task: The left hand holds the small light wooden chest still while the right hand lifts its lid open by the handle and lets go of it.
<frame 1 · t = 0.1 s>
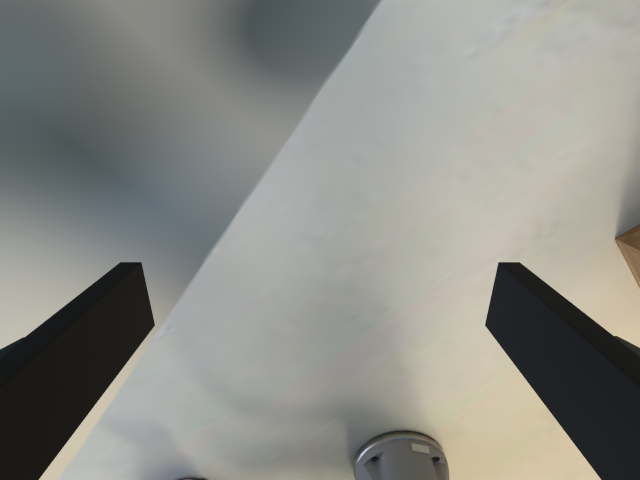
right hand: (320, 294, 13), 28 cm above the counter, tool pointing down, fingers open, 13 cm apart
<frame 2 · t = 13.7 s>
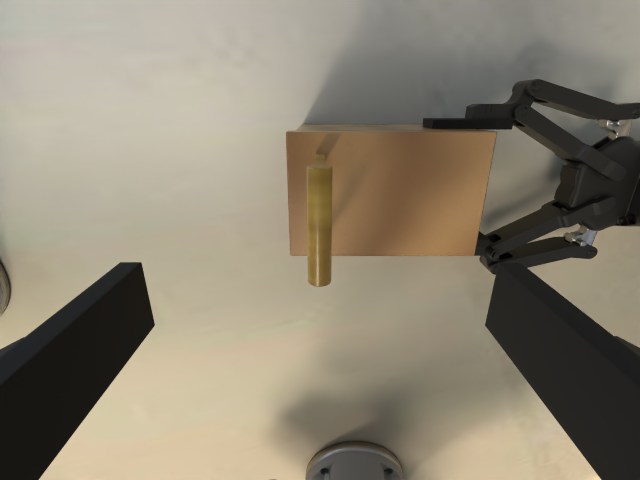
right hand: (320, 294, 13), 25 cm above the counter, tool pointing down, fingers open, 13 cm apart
left hand: (420, 184, 31), fingers closed on chest, 10 cm apart
lid: (394, 209, 23), point 14 cm above the counter, hinge at 0.0°
chest: (370, 171, 36), on the counter, touching left hand
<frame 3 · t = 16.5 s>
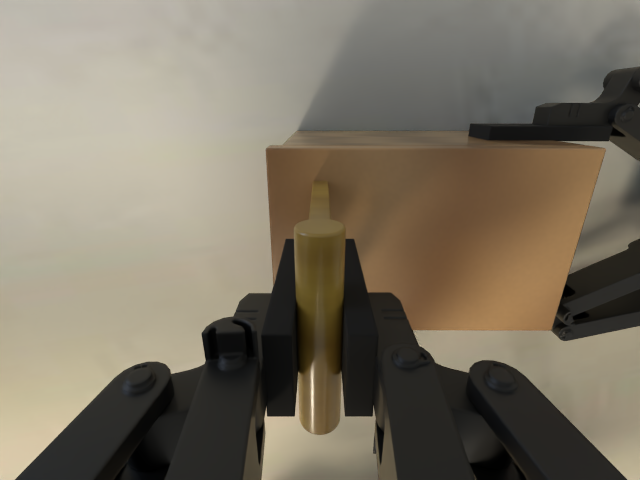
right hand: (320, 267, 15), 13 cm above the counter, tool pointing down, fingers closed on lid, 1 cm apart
lid: (444, 278, 14), point 14 cm above the counter, hinge at 0.0°, touching right hand
chest: (388, 194, 27), on the counter, touching left hand
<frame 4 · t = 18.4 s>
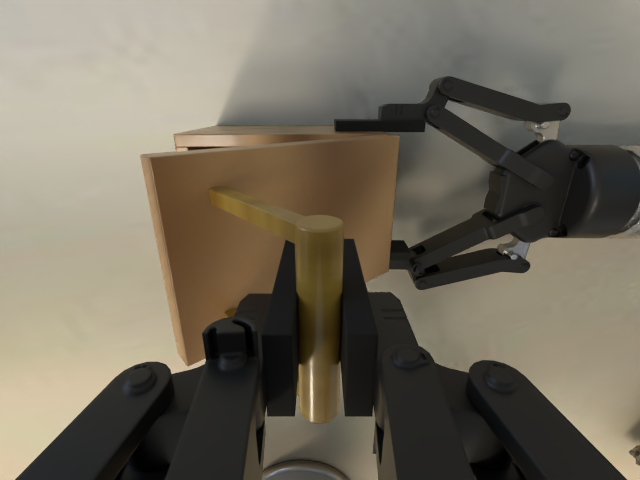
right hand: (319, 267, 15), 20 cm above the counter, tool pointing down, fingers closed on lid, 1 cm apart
left hand: (333, 192, 28), fingers closed on chest, 10 cm apart
lid: (350, 250, 17), point 18 cm above the counter, hinge at 40.9°, touching right hand
chest: (294, 177, 34), on the counter, touching left hand
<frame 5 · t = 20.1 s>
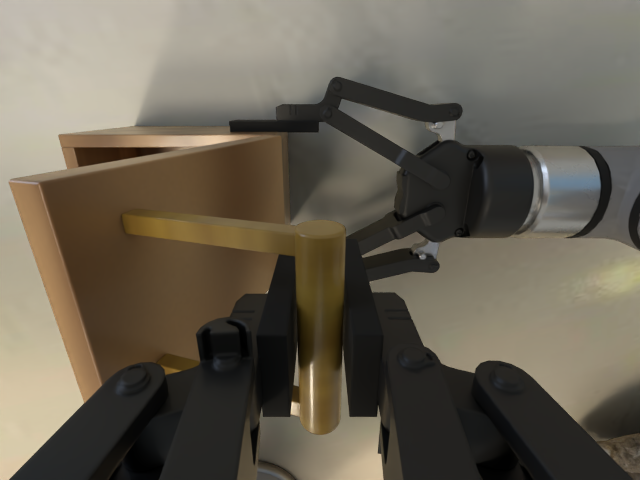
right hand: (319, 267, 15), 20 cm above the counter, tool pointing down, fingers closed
left hand: (239, 192, 28), fingers closed on chest, 10 cm apart
lid: (281, 255, 16), point 19 cm above the counter, hinge at 71.9°
chest: (216, 177, 34), on the counter, touching left hand
fossil: (639, 414, 45), on the counter
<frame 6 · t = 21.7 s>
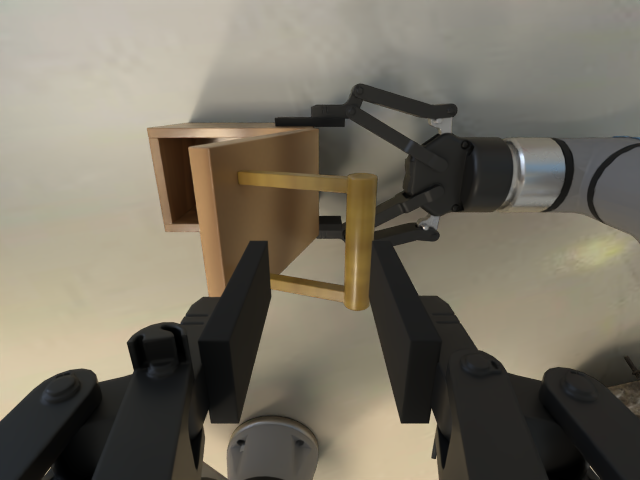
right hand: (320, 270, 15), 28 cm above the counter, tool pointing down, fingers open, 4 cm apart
left hand: (279, 175, 35), fingers closed on chest, 10 cm apart
lid: (324, 210, 23), point 19 cm above the counter, hinge at 70.6°
chest: (254, 165, 41), on the counter, touching left hand
fossil: (615, 374, 52), on the counter
when the left hand's fingers open (6 cm above the counter, at t = 24.1 s): chest stays where it is, on the counter.
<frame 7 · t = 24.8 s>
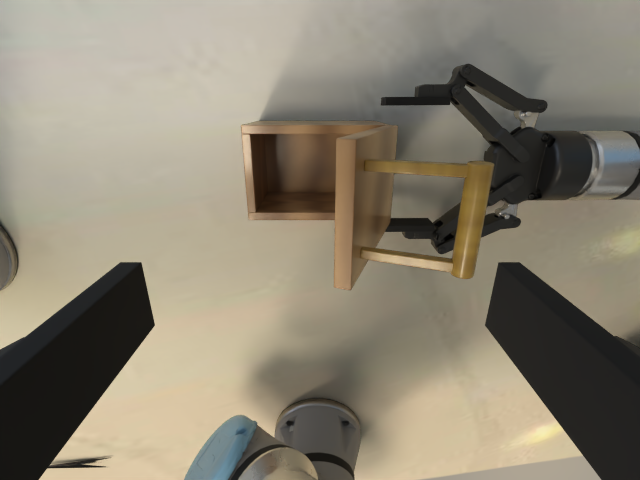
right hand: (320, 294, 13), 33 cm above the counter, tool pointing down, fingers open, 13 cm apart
left hand: (379, 167, 38), fingers open, 13 cm apart
feather: (46, 463, 65), on the counter
lid: (418, 197, 26), point 19 cm above the counter, hinge at 69.4°
chest: (316, 160, 44), on the counter
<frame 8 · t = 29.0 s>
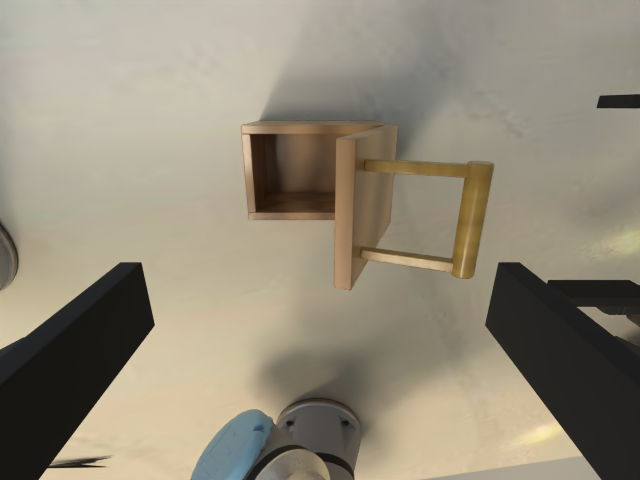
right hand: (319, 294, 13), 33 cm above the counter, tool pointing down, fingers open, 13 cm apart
feather: (46, 463, 65), on the counter
lid: (418, 197, 26), point 19 cm above the counter, hinge at 69.4°
chest: (316, 160, 44), on the counter
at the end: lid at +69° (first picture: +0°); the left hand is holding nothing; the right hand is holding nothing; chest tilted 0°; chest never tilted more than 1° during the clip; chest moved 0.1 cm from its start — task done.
